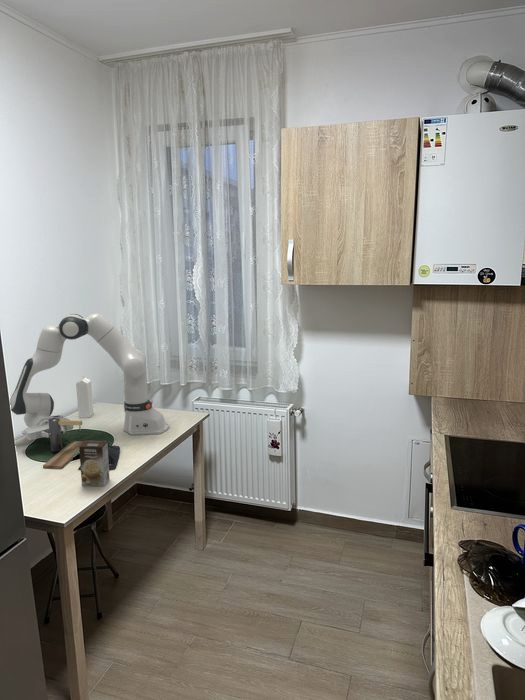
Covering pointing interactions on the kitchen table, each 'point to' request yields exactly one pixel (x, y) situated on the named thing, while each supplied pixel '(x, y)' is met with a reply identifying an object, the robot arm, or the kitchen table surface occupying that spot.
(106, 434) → the kitchen table surface
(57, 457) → the board
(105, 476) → the coffee box
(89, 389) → the milk
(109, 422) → the kitchen table surface
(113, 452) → the dark slate chunk
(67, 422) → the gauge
